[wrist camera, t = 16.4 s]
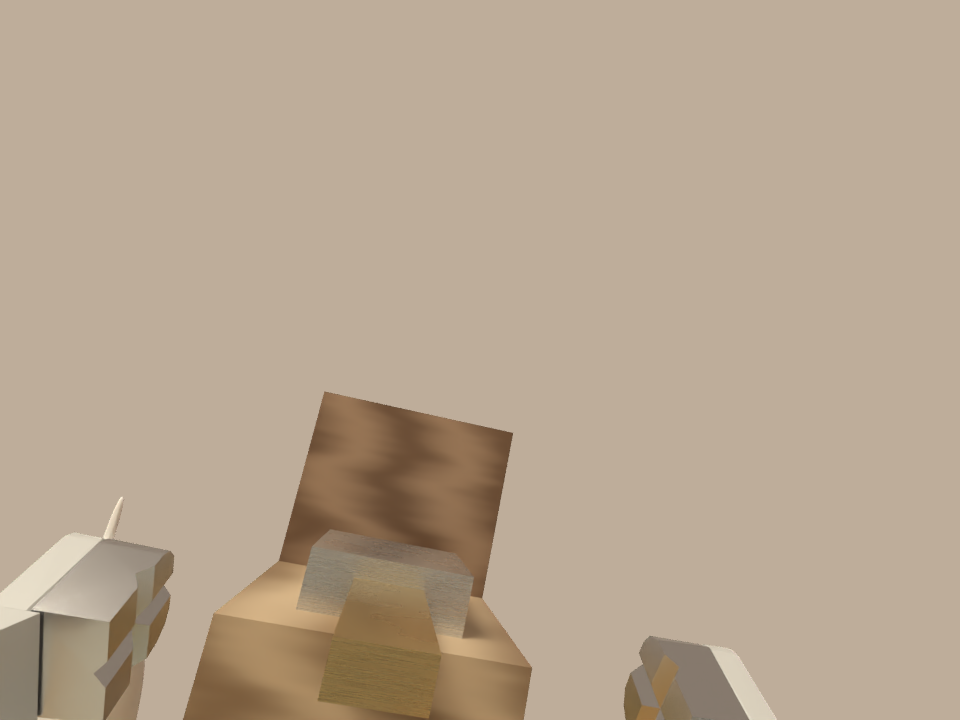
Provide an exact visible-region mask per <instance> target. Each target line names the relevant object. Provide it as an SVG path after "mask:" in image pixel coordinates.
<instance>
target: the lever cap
mask: <svg viewBox="0 0 960 720" xmlns="http://www.w3.org/2000/svg"><path fill="white" fill-rule="evenodd" d="M473 580H474V576H473V575H472V574H471V572H470V571H469V570H468V569H467V567H466V566H465V565H464V563H463V562H462V561H461V559H460V558H459V557H458V556H457V554H456V553H450V552H445V551H440V550H435V549H430V548H424V547H419V546H414V545H409V544H404V543H399V542H393V541H388V540H383V539H378V538H373V537H367V536H362V535H357V534H352V533H347V532H341V531H336V530H331V529H330V530H329V531H328V532H327V533H326V534H325V535H324V536H322V537H321V538H320V539H319V540H318V541H317V542H316V543H315V544H314V545H313V546H312V548H311V552H310V556H309V560H308V564H307V568H306V571H305V575H304V579H303V583H302V587H301V591H300V595H299V599H298V602H297V606H296V610H302V611H308V612H313V613H319V614H325V615H330V616H336V617H340V618H339V621H338V624H337V626H336V629H335V632H334V635H333V638H332V642H331V646H330V651H329V655H328V659H327V663H326V667H325V671H324V675H323V680H322V684H321V688H320V692H319V696H318V700H317V701H320V702H326V703H333V704H339V705H345V706H352V707H358V708H364V709H371V710H377V711H383V712H390V713H396V714H402V715H408V716H415V717H421V718H427V719H429V715H430V710H431V705H432V700H433V695H434V690H435V685H436V680H437V675H438V670H439V665H440V660H441V651H440V648H439V644H438V640H437V636H436V634H438V635H444V636H450V637H456V638H461V639H462V637H463V632H464V627H465V622H466V616H467V611H468V606H469V601H470V595H471V590H472V585H473Z"/></svg>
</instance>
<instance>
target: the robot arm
mask: <svg viewBox="0 0 960 720" xmlns="http://www.w3.org/2000/svg"><path fill="white" fill-rule="evenodd" d="M173 564H174V555H173V554H172V553H171V551H168V550H163V549H158V548H152V547H148V546H143V545H138V544H132V543H128V542H123V541H118V540H113V539H104V538H100V537H95V536H90V535H85V534H80V533H73V534H70V535H66V536H65V537H63V538H62V539H61V540H60V541H58V542H57V543H56V544H55V545H54V546H53V547H52V548H50V549H49V550H48V551H47V552H46V553H45V554H44V555H43V556H41V557H40V558H39V559H38V560H37V561H36V562H35V563H34V564H32V565H31V566H30V567H29V568H28V569H27V570H26V571H25V572H23V573H22V574H21V575H20V576H19V577H18V578H17V579H15V580H14V581H13V582H12V583H11V584H10V585H9V586H7V587H6V588H5V589H4V590H3V591H2V592H1V593H0V720H37V719H38V717H40V718H50V719H59V720H106V719H107V717H108V716H109V714H110V713H111V711H112V710H113V708H114V707H115V705H116V704H117V702H118V701H119V699H120V698H121V696H122V695H123V693H124V692H125V690H126V689H127V687H128V686H129V684H130V677H131V667H132V666H134V665H136V664H138V663H139V662H141V661H143V660H145V659H146V658H147V657H148V655H149V654H150V652H151V650H152V649H153V647H154V646H155V644H156V642H157V640H158V638H159V636H160V633H161V631H162V629H163V626H164V624H165V621H166V618H167V614H168V610H169V604H170V594H169V592H168V591H167V589H166V588H165V586H164V584H165V583H166V581H167V580H168V579H169V577H170V576H171V574H172V573H173ZM639 654H640V657H641V660H642V662H643V665H641V666H640V667H638V668H637V669H635V670H634V671H633V672H631V674H630V676H629V679H628V682H627V684H626V687H625V698H624V710H625V718H626V720H777V719H776V718H775V716H774V714H773V712H772V711H771V709H770V708H769V706H768V704H767V702H766V701H765V699H764V698H763V696H762V694H761V693H760V691H759V689H758V688H757V686H756V684H755V683H754V681H753V679H752V678H751V676H750V674H749V673H748V671H747V670H746V668H745V666H744V665H743V663H742V661H741V660H740V658H739V657H738V655H737V654H736V653H735V652H734V651H733V650H731V649H730V648H724V647H717V646H710V645H699V644H694V643H689V642H682V641H676V640H671V639H665V638H658V637H653V636H649V637H648V638H647V639H646V640H645V642H644V643H643V645H642V647H641V650H640V652H639Z"/></svg>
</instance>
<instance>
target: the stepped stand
mask: <svg viewBox="0 0 960 720" xmlns="http://www.w3.org/2000/svg"><path fill="white" fill-rule="evenodd" d="M512 436H513V433H510V432H506V431H501V430H497V429H492V428H487V427H483V426H478V425H474V424H470V423H465V422H461V421H456V420H451V419H447V418H442V417H438V416H433V415H429V414H424V413H419V412H415V411H411V410H405V409H401V408H397V407H392V406H387V405H383V404H378V403H374V402H369V401H365V400H360V399H356V398H351V397H346V396H342V395H338V394H333V393H329V392H324V395H323V399H322V403H321V407H320V410H319V414H318V418H317V422H316V426H315V429H314V433H313V436H312V440H311V444H310V448H309V451H308V455H307V459H306V462H305V466H304V470H303V474H302V478H301V481H300V485H299V489H298V492H297V496H296V499H295V503H294V507H293V511H292V514H291V518H290V522H289V526H288V529H287V533H286V537H285V540H284V544H283V548H282V552H281V555H280V559H279V561H278V562H277V563H276V564H274V565H273V566H272V567H271V568H269V569H268V570H267V571H266V572H264V573H263V574H262V575H261V576H259V577H258V578H257V579H256V580H255V581H253V582H252V583H251V584H250V585H248V586H247V587H246V588H245V589H243V590H242V591H241V592H240V593H238V594H237V595H236V596H235V597H234V598H233V599H231V600H230V601H229V602H227V603H226V604H225V605H223V606H222V607H221V608H220V609H218V610H217V611H216V612H215V613H214V614H213V618H212V621H211V625H210V628H209V632H208V635H207V639H206V642H205V646H204V649H203V653H202V656H201V659H200V663H199V667H198V670H197V673H196V677H195V680H194V684H193V687H192V691H191V694H190V697H189V701H188V704H187V708H186V711H185V715H184V718H183V720H523V719H524V714H525V708H526V702H527V696H528V689H529V683H530V677H531V671H532V667H531V666H530V664H529V663H528V662H527V660H526V659H525V657H524V656H523V655H522V653H521V652H520V650H519V649H518V648H517V646H516V645H515V643H514V642H513V641H512V639H511V638H510V636H509V635H508V634H507V633H506V631H505V629H504V628H503V627H502V625H501V624H500V623H499V621H498V620H497V618H496V617H495V616H494V614H493V613H492V612H491V610H490V609H489V608H488V606H487V605H486V603H485V602H484V600H483V599H482V596H483V591H484V585H485V580H486V574H487V569H488V564H489V558H490V553H491V548H492V543H493V537H494V532H495V526H496V521H497V516H498V511H499V505H500V499H501V494H502V489H503V483H504V478H505V473H506V467H507V462H508V457H509V452H510V446H511V441H512ZM330 529H331V530H336V531H341V532H347V533H352V534H357V535H362V536H367V537H373V538H378V539H383V540H388V541H393V542H399V543H404V544H409V545H414V546H419V547H424V548H430V549H435V550H440V551H445V552H450V553H456V554H457V556H458V557H459V558H460V559H461V561H462V562H463V563H464V565H465V566H466V567H467V569H468V570H469V571H470V572H471V574H472V575H473V576H474V580H473V585H472V590H471V595H470V601H469V606H468V611H467V616H466V622H465V627H464V632H463V637H462V639H461V638H456V637H450V636H444V635H438V634H436V636H437V640H438V644H439V648H440V651H441V660H440V665H439V670H438V675H437V680H436V685H435V690H434V695H433V700H432V705H431V710H430V715H429V719H427V718H421V717H415V716H408V715H402V714H396V713H390V712H383V711H377V710H371V709H364V708H358V707H352V706H345V705H339V704H333V703H326V702H320V701H317V700H318V696H319V692H320V688H321V684H322V680H323V675H324V671H325V667H326V663H327V659H328V655H329V651H330V646H331V642H332V638H333V635H334V632H335V629H336V626H337V624H338V621H339V618H340V617H336V616H330V615H325V614H319V613H313V612H308V611H302V610H296V606H297V602H298V599H299V595H300V591H301V587H302V583H303V579H304V575H305V571H306V568H307V564H308V560H309V556H310V552H311V548H312V546H313V545H314V544H315V543H316V542H317V541H318V540H319V539H320V538H321V537H322V536H324V535H325V534H326V533H327V532H328V531H329V530H330Z"/></svg>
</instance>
